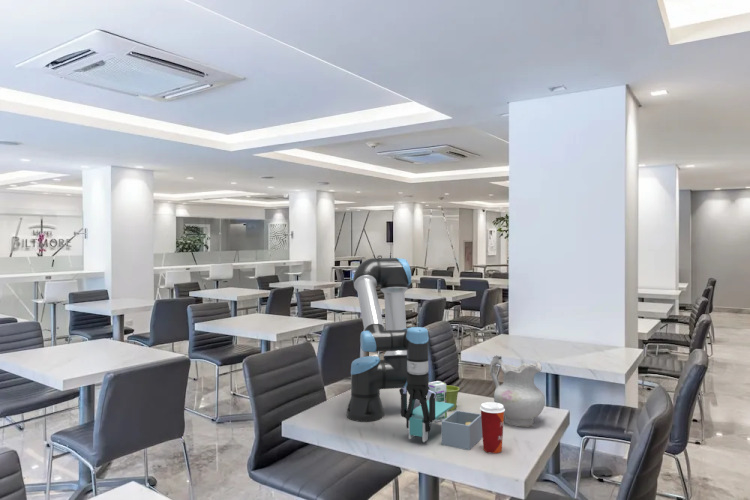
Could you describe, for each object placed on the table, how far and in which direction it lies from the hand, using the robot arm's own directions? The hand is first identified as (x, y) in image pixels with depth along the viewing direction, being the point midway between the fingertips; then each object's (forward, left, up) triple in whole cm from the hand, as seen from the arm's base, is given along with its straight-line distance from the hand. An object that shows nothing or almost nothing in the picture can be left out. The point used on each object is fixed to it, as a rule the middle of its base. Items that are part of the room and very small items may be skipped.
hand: (418, 439), depth 178 cm
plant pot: (-5, +41, -1) cm, 41 cm away
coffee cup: (+25, +6, -1) cm, 25 cm away
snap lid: (0, +9, +2) cm, 10 cm away
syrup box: (-4, +26, -1) cm, 26 cm away
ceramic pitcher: (+24, +39, -1) cm, 46 cm away
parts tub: (+13, +9, -1) cm, 16 cm away
